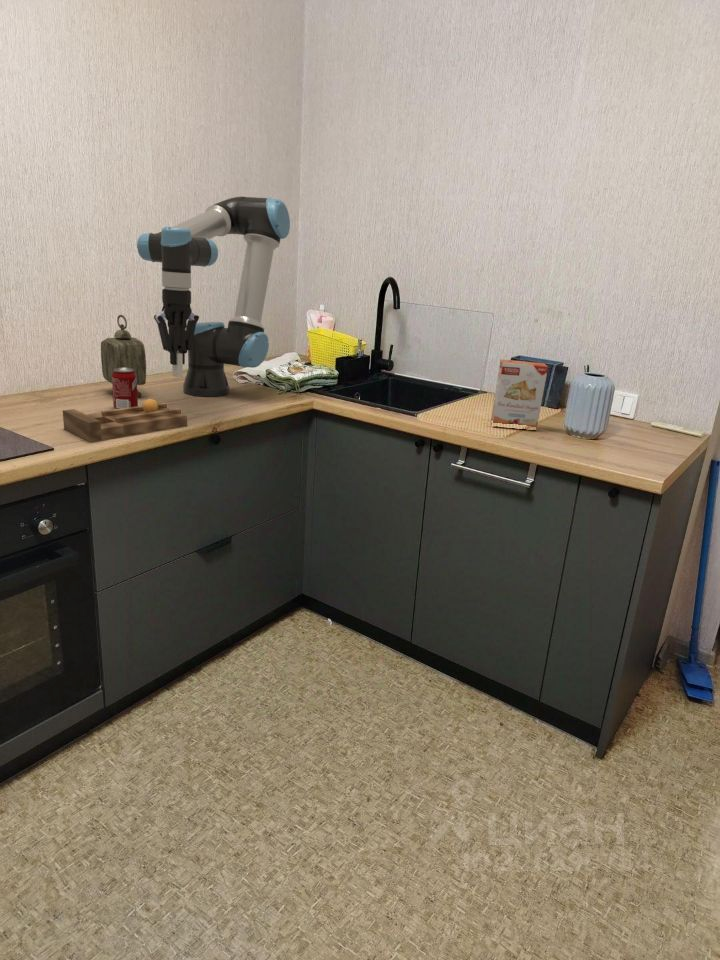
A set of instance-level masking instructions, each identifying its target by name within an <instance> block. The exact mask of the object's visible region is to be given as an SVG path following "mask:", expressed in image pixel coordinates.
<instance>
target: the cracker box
mask: <svg viewBox="0 0 720 960" xmlns="http://www.w3.org/2000/svg"><path fill="white" fill-rule="evenodd" d="M548 371H549V366H548V365H547V364H546V363H544V362H532V361H524V360H512V359H500V360H499V367H498V373H497V379H496V386H495V393H494V399H493V406H492V412H491V416H490V417H491V419H492V421H493V423H502V424H518V425H527V426H531V427H537V428H538V423H539V419H540V413H541V407H542V402H543V397H544V391H545V387H546V386H545V385H546V381H547V375H548ZM491 419H490V420H491Z"/></svg>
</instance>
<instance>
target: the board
mask: <svg viewBox="0 0 720 960" xmlns="http://www.w3.org/2000/svg"><path fill="white" fill-rule="evenodd" d="M157 404H158V409H157V411H156V412H149V413H147V412H145V411H144V409H143V405H138V406H137V407H130V408H123V409H111V410H110V409H108V410H101V411H100V412H98V413H90V414H86V413H84V412H81V411H79V410H77V409H75V408H72V409H63V410H62V420H63V430H65V431H67V432H69V433H71V434H73V435H74V436H77V437H79V438H80V439H83V440H84V441H86V442H88V443H95V442H100V441H105V440H106V441H107V440H111V439H112V440H113V439H117V438H123V437H124V438H125V437H130V435H131V436H135V435H136V434H137V435H142V433H143V434H148V433H153V432H159V431H165V430H171V429H177V428H184V427H188V415H187V414H184V413H182V408H180V407H178V408H177V407H176V408H172V409H171V408H168V403H166V402H161V403H157Z"/></svg>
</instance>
